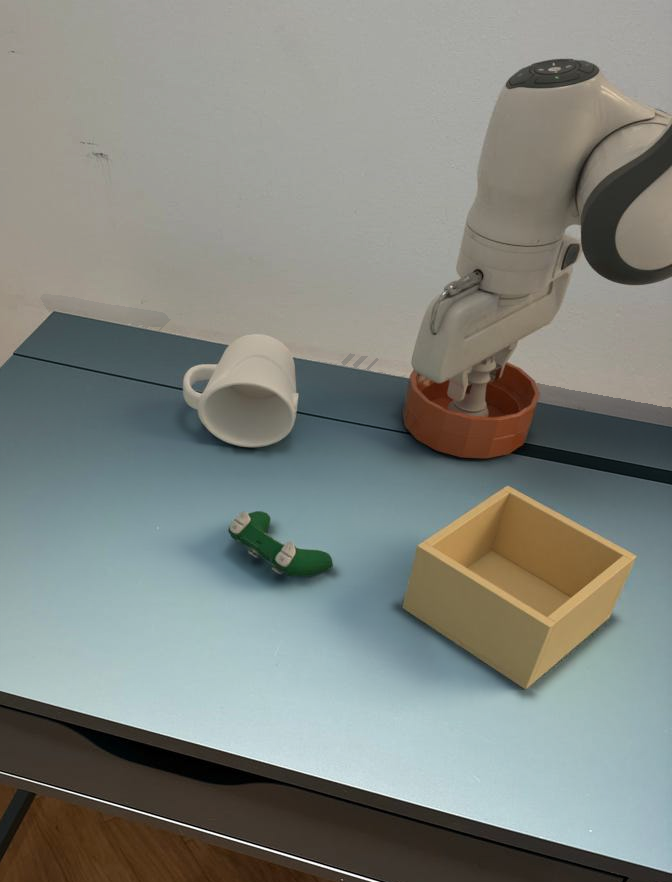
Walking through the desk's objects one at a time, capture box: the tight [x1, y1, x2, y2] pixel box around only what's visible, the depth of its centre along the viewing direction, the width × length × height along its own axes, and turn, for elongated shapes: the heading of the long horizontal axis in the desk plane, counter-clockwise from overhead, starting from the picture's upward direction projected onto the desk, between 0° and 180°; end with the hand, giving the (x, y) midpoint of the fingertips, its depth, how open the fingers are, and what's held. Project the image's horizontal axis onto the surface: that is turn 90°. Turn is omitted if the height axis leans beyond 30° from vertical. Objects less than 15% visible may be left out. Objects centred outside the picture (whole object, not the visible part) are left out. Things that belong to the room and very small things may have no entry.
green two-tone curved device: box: [227, 510, 334, 578], centre depth 89 cm, size 9×4×6 cm
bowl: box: [402, 361, 541, 459], centre depth 104 cm, size 13×13×5 cm
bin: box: [401, 485, 637, 690], centre depth 83 cm, size 13×13×7 cm
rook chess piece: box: [447, 355, 496, 417], centre depth 103 cm, size 4×4×8 cm
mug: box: [182, 333, 299, 448], centre depth 102 cm, size 12×9×8 cm
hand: (473, 387), depth 103 cm, fingers open, 4 cm apart
